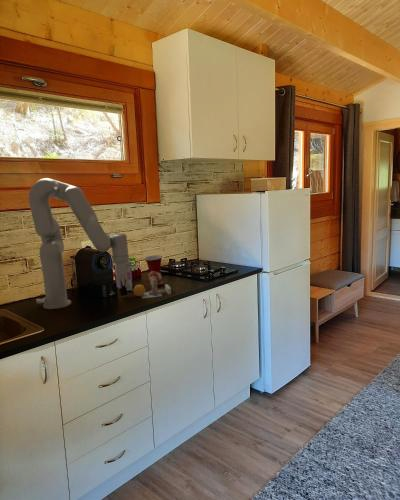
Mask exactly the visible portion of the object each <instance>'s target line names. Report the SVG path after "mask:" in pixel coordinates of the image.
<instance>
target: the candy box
mask: <svg viewBox="0 0 400 500" xmlns="http://www.w3.org/2000/svg"><path fill="white" fill-rule="evenodd" d="M126 264H127V282H126V287H127V292H132V291H133V289H134V287H133V275H132V273H133V271H132V260H131V259H129V261H128V262H126ZM114 272H115V274H116V266H115V265H114ZM115 282H116V288H117V289H119V290H120V282H119V283H117V278H116V277H115Z"/></svg>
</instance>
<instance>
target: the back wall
mask: <svg viewBox="0 0 400 500" xmlns="http://www.w3.org/2000/svg"><path fill="white" fill-rule="evenodd" d="M164 289H165V290H166V294H167V295H172V288H171V287H170V285H169V284H166V283H165V284H164Z"/></svg>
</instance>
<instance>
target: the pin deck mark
mask: <svg viewBox="0 0 400 500" xmlns="http://www.w3.org/2000/svg"><path fill="white" fill-rule="evenodd" d="M140 297H141V299H150V298H158V297H163V294H158V295H157V296H153V295H149V293H148V292H147V291H145V293H144V295H143V296H140Z"/></svg>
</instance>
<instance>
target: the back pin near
mask: <svg viewBox="0 0 400 500" xmlns="http://www.w3.org/2000/svg"><path fill="white" fill-rule="evenodd" d="M152 289H153V296H157V295H158V291H157V290H158V285H157V279H152Z"/></svg>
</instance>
